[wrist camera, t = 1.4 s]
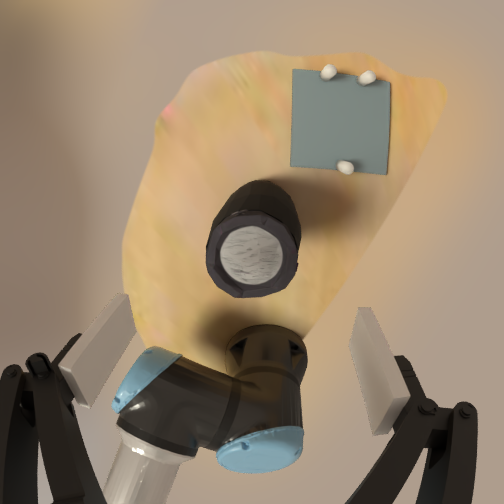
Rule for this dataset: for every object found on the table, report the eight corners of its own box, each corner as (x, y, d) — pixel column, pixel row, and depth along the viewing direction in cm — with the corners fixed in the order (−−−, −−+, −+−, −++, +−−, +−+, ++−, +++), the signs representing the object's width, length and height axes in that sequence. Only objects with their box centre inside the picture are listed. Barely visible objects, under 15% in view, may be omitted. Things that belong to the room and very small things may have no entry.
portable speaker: (304, 207, 42) (327, 263, 24) (255, 246, 44) (244, 324, 26) (264, 162, 40) (258, 183, 22) (216, 204, 42) (175, 258, 24)
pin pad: (383, 174, 39) (396, 180, 34) (290, 166, 40) (292, 170, 35) (387, 82, 33) (400, 77, 29) (292, 69, 34) (295, 61, 30)
